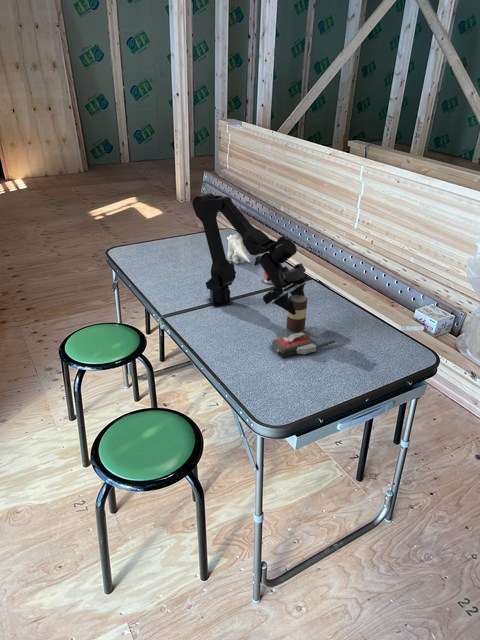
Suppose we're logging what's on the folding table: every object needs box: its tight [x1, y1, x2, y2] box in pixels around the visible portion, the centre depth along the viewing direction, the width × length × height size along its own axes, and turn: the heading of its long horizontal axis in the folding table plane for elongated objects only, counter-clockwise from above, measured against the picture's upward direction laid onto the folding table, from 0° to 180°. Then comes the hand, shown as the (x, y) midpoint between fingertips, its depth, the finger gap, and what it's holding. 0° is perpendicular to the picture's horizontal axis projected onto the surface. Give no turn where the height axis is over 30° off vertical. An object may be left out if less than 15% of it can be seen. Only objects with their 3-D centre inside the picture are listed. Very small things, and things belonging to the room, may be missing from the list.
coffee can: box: [286, 294, 308, 333], centre depth 158 cm, size 6×6×11 cm
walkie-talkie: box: [271, 331, 336, 358], centre depth 151 cm, size 9×4×20 cm
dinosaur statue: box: [226, 233, 251, 264], centre depth 212 cm, size 7×24×11 cm, turn 25°
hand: (300, 310), depth 157 cm, fingers closed on coffee can, 6 cm apart
